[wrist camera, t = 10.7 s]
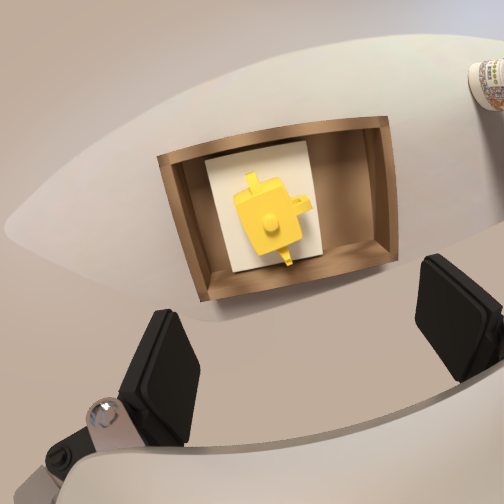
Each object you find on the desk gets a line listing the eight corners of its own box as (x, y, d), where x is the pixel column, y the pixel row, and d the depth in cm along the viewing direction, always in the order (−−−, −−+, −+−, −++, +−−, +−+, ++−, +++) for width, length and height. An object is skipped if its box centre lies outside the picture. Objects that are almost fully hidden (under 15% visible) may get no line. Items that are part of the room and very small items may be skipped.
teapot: (316, 233, 26) (332, 255, 21) (261, 256, 27) (264, 282, 22) (286, 154, 23) (296, 158, 18) (225, 180, 24) (220, 190, 19)
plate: (301, 140, 24) (305, 140, 22) (318, 246, 28) (322, 254, 27) (207, 159, 25) (204, 160, 23) (233, 263, 29) (232, 272, 27)
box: (365, 118, 24) (387, 115, 20) (378, 242, 30) (398, 260, 25) (172, 153, 25) (156, 156, 21) (206, 277, 31) (200, 302, 26)
